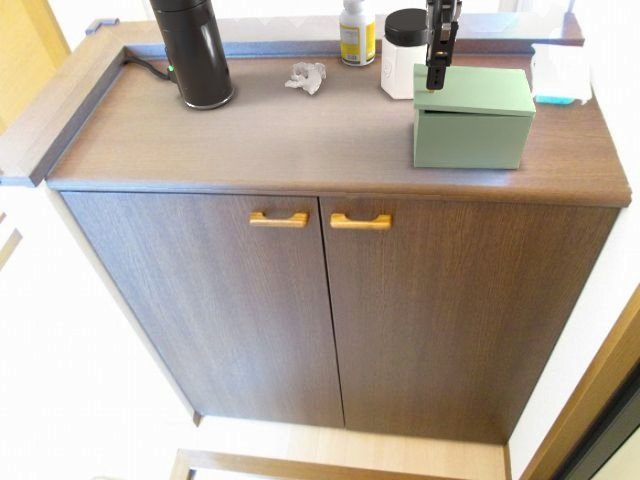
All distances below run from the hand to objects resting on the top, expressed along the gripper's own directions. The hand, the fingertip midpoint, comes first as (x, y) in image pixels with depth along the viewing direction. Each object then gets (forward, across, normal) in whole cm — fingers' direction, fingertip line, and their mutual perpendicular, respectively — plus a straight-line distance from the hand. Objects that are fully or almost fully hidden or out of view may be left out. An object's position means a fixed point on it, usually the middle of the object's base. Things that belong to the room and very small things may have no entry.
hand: (433, 76), depth 62 cm
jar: (+12, -16, -3) cm, 20 cm away
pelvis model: (+12, -17, -21) cm, 30 cm away
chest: (+12, 0, +6) cm, 13 cm away
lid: (+2, 0, +5) cm, 6 cm away
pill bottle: (+12, -26, -12) cm, 31 cm away
